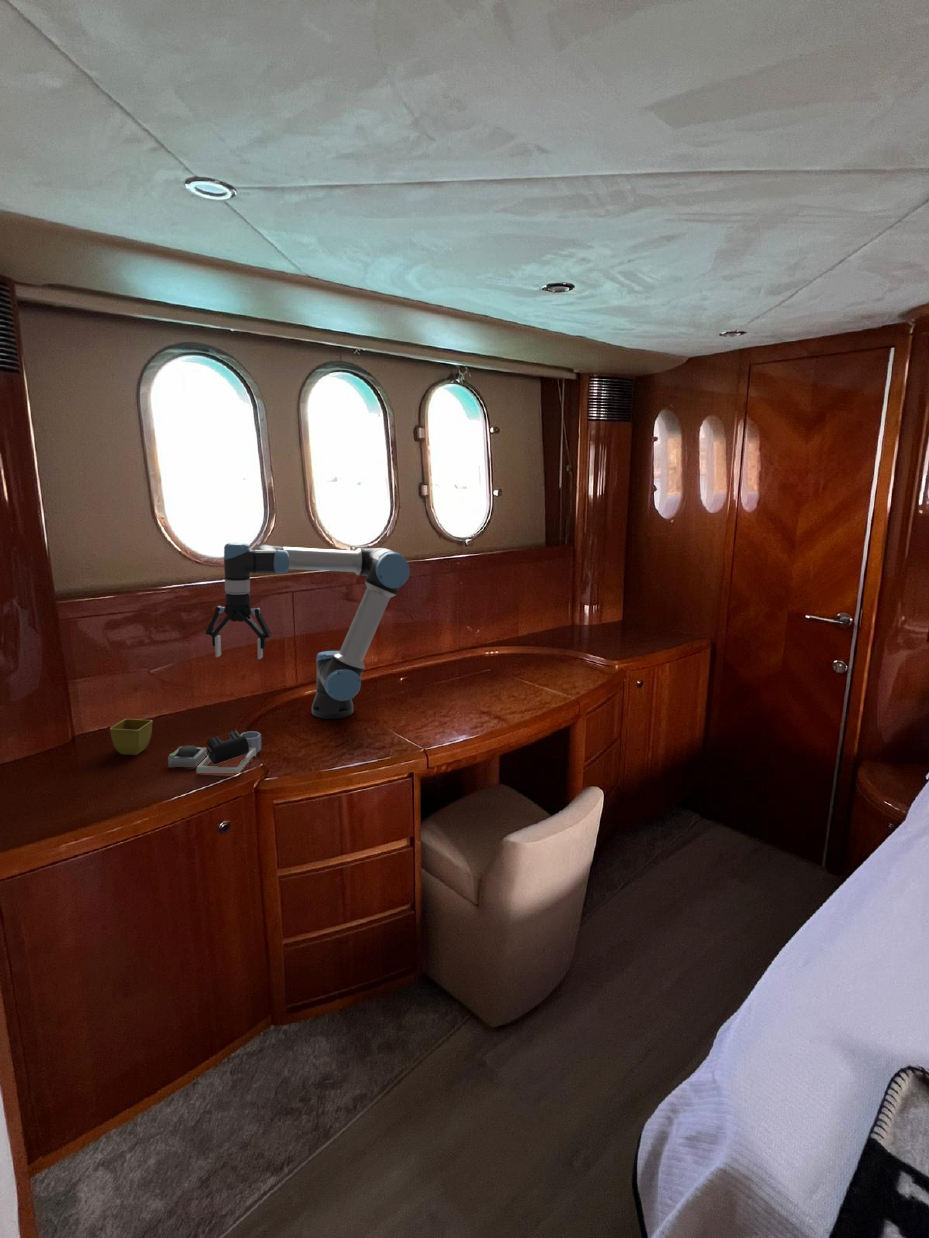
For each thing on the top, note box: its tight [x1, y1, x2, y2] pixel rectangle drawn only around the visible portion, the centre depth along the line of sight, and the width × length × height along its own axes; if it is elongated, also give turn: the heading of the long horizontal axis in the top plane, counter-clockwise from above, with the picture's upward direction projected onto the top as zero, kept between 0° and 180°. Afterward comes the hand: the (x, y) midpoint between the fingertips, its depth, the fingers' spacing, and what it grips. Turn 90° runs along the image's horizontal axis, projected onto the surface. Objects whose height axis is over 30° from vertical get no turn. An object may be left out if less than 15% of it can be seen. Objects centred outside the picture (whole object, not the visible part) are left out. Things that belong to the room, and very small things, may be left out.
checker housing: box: [167, 745, 208, 768], centre depth 188 cm, size 8×8×4 cm
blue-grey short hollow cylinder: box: [240, 730, 262, 754], centre depth 198 cm, size 6×6×5 cm
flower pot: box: [109, 718, 153, 756], centre depth 192 cm, size 9×9×9 cm
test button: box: [177, 745, 198, 757], centre depth 188 cm, size 5×5×3 cm
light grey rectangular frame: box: [196, 747, 257, 774], centre depth 188 cm, size 12×15×2 cm
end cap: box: [206, 730, 249, 765], centre depth 186 cm, size 10×7×7 cm
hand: (239, 657), depth 204 cm, fingers open, 13 cm apart
